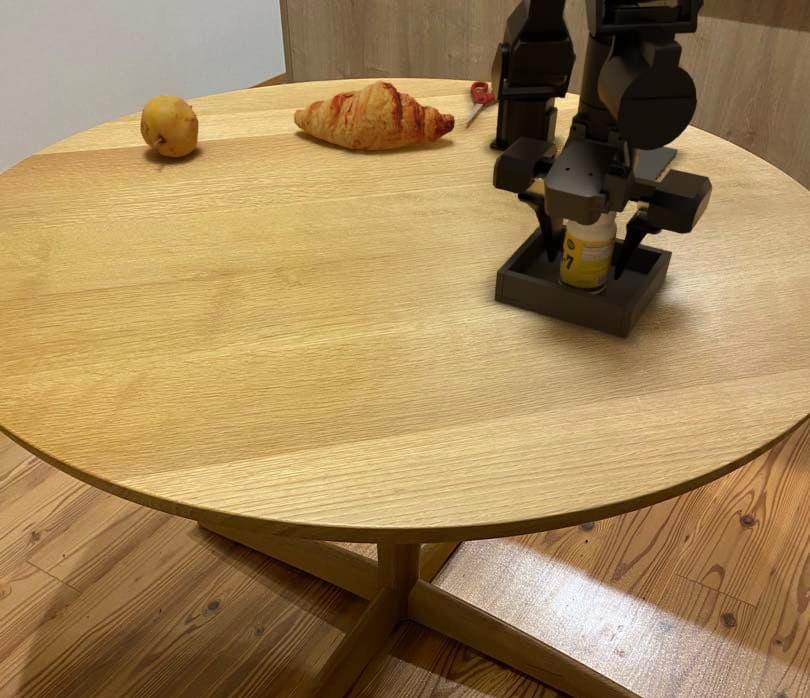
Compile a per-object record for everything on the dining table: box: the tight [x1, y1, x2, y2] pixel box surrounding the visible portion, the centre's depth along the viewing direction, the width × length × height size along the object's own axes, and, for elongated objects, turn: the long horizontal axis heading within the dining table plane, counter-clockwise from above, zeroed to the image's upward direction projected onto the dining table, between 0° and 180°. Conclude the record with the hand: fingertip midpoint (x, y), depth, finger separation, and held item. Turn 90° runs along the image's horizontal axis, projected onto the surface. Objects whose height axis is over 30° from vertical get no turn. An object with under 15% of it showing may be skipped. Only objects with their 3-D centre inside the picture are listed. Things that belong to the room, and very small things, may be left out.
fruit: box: [139, 94, 199, 158], centre depth 98 cm, size 7×7×10 cm
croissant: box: [293, 80, 456, 151], centre depth 101 cm, size 21×10×8 cm, turn 81°
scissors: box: [465, 80, 497, 125], centre depth 109 cm, size 5×14×1 cm, turn 161°
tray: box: [494, 223, 673, 340], centre depth 78 cm, size 14×12×3 cm
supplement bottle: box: [558, 211, 618, 294], centre depth 75 cm, size 5×5×8 cm
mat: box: [634, 146, 679, 181], centre depth 98 cm, size 10×10×1 cm
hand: (584, 269), depth 77 cm, fingers open, 6 cm apart
